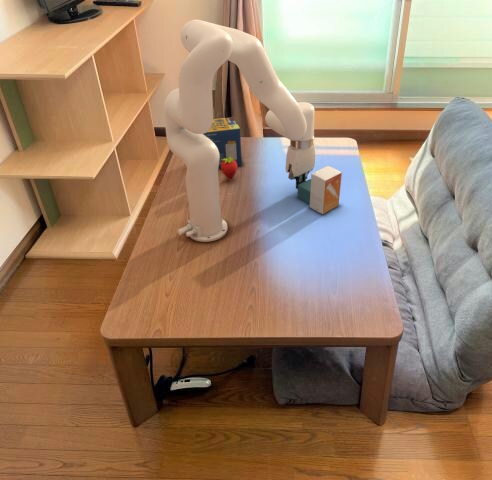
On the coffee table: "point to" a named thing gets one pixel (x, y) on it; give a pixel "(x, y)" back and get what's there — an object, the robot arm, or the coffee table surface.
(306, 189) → the teal block
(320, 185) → the small box
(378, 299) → the coffee table surface
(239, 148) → the protein box
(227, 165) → the strawberry
